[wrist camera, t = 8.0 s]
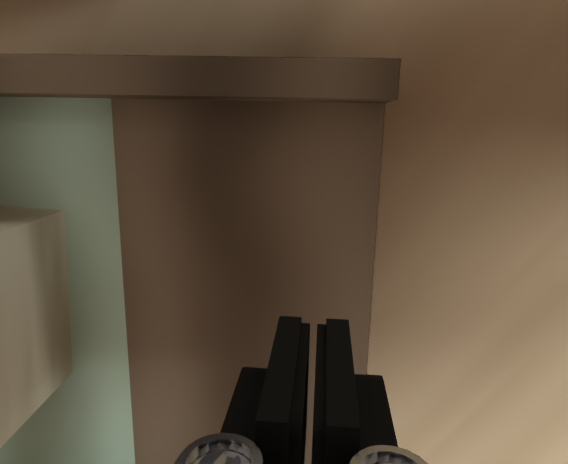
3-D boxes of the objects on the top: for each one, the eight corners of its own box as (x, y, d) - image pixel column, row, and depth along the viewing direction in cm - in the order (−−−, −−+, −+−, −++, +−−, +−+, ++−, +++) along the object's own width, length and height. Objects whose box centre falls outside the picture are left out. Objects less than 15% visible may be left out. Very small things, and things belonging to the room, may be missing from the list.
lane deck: (369, 80, 17) (401, 58, 12) (348, 440, 21) (363, 561, 15) (-245, 72, 19) (-498, 47, 13) (-163, 415, 22) (-331, 518, 16)
